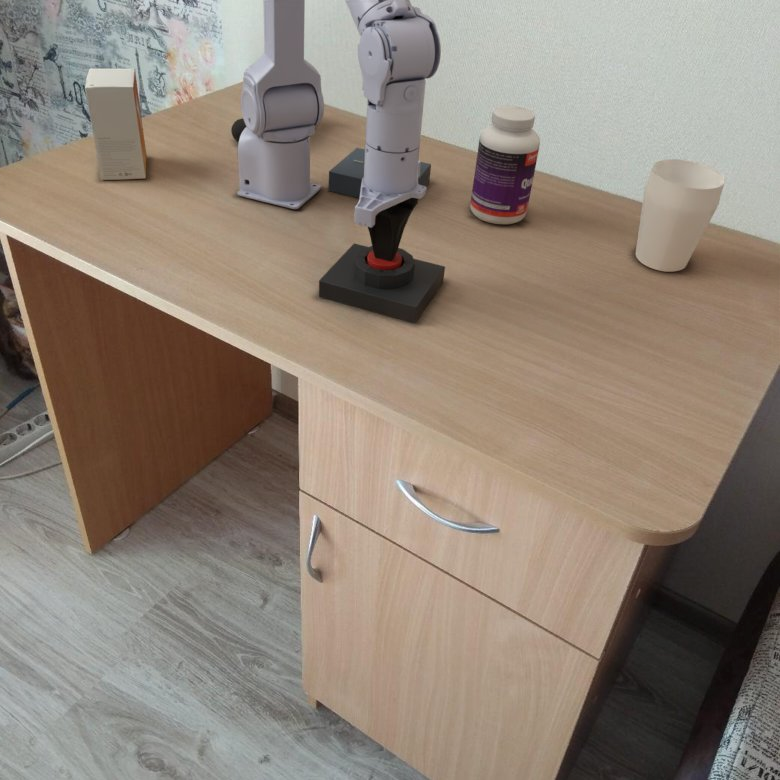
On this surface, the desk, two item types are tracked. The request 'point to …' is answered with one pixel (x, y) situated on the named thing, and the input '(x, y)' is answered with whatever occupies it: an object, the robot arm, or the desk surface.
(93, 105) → the small box
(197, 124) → the desk surface
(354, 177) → the dial panel
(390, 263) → the lid button
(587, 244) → the desk surface
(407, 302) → the button housing
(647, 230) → the cup
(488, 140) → the pill bottle
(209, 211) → the desk surface
